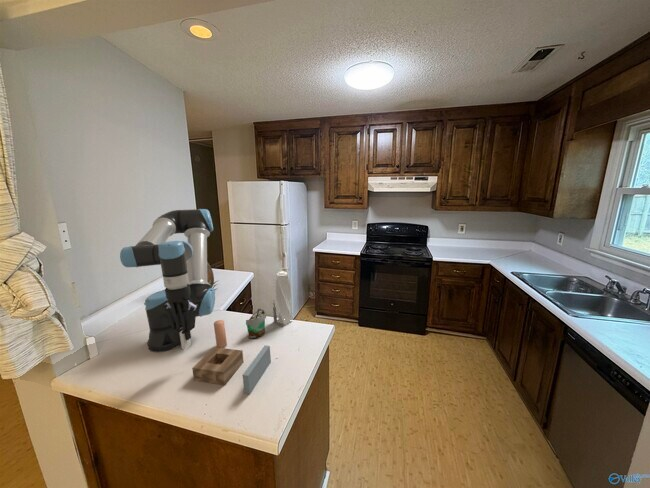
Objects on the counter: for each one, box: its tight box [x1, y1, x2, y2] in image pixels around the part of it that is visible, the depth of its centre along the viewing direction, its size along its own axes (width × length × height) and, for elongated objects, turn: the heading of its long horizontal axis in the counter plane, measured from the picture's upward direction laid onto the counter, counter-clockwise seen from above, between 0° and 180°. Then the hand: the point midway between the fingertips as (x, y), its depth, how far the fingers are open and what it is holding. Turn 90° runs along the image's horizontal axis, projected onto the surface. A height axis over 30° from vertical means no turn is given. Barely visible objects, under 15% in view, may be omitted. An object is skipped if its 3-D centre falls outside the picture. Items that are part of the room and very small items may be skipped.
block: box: [191, 346, 244, 386], centre depth 93 cm, size 12×12×5 cm
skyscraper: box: [272, 266, 293, 327], centre depth 127 cm, size 8×8×28 cm
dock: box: [242, 345, 272, 395], centre depth 92 cm, size 23×16×8 cm
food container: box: [245, 308, 267, 340], centre depth 118 cm, size 12×6×10 cm, turn 168°
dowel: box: [213, 319, 228, 348], centre depth 108 cm, size 4×4×12 cm
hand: (186, 347), depth 95 cm, fingers closed
